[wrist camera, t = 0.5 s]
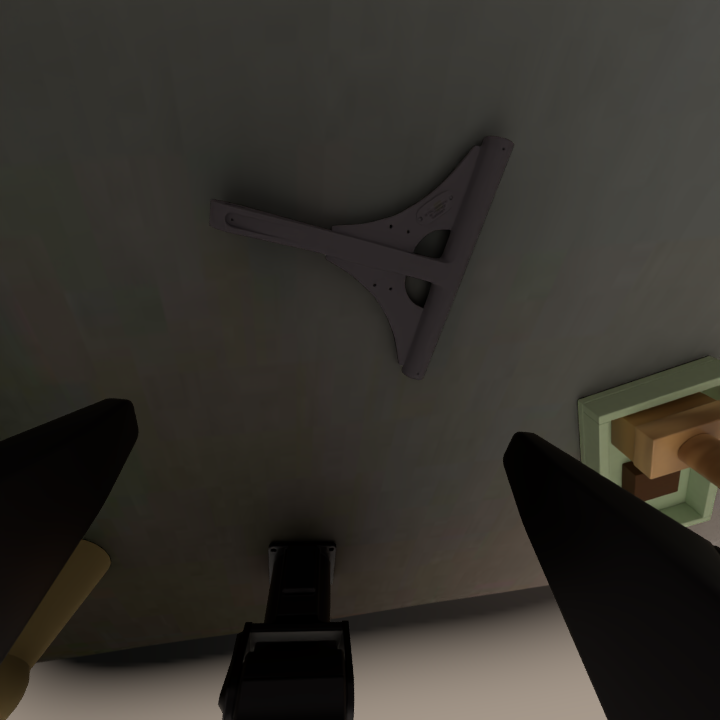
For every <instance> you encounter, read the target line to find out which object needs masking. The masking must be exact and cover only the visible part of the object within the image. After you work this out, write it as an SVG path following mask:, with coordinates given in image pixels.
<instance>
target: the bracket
mask: <svg viewBox="0 0 720 720" xmlns="http://www.w3.org/2000/svg"><path fill="white" fill-rule="evenodd" d="M513 147H514V143H513V142H512V141H510V140H508V139H506V138H501V137H497V136H486V137H484V139H483V142H482V144H481V146H477V145H476V146H473V147H472V148H471V150H470V151H469V152H468V153H467V155H466V156H465V157H464V158H463V160H462V161H461V162H460V163H459V165H458V166H457V167H456V168H455V169H454V170H453V171H452V173H451V174H450V175H449V176H448V177H447V178H446V179H445V180H444V181H443V182H442V183H441V184H440V185H439V186H438V187H437V188H435V189H434V190H433V191H432V192H431V193H429V194H428V195H427V196H426V197H424V198H423V199H421V200H420V201H419V202H417V203H415V204H414V205H412V206H411V207H409V208H407V209H405V210H404V211H402V212H400V213H398V214H396V215H394V216H390V217H387V218H383V219H380V220H376V221H373V222H368V223H363V224H351V225H335V226H332V229H331V230H329V229H325V228H321V227H318V226H314V225H311V224H307V223H303V222H300V221H296V220H292V219H289V218H285V217H282V216H278V215H274V214H271V213H267V212H263V211H260V210H256V209H252V208H249V207H245V206H241V205H238V204H234V203H230V202H225V201H221V200H216V199H211V205H210V221H209V224H210V226H212V227H214V228H216V229H219V230H222V231H225V232H229V233H233V234H238V235H242V236H247V237H252V238H256V239H261V240H265V241H270V242H274V243H279V244H283V245H287V246H292V247H296V248H301V249H305V250H309V251H313V252H317V253H321V254H326V259H327V260H328V261H330V262H331V263H333V264H335V265H336V266H338V267H340V268H341V269H343V270H344V271H346V272H347V273H349V274H350V275H352V276H353V277H354V278H355V279H357V280H358V281H359V282H360V283H361V284H362V285H363V286H364V287H365V288H366V289H367V290H369V291H370V292H371V293H372V294H373V296H374V297H375V298H376V300H377V301H378V303H379V305H380V306H381V308H382V309H383V311H384V313H385V315H386V317H387V319H388V321H389V323H390V326H391V328H392V331H393V335H394V339H395V343H396V349H397V356H398V362H399V364H400V365H403V368H402V372H403V373H404V374H405V375H406V376H408V377H410V378H413V379H417V380H420V379H423V377H424V375H425V372H426V370H427V367H428V365H429V362H430V359H431V357H432V354H433V352H434V349H435V347H436V344H437V342H438V339H439V336H440V334H441V331H442V329H443V326H444V324H445V321H446V318H447V316H448V313H449V311H450V308H451V306H452V303H453V301H454V298H455V295H456V293H457V290H458V288H459V285H460V283H461V280H462V277H463V275H464V272H465V270H466V267H467V265H468V262H469V260H470V257H471V254H472V252H473V249H474V247H475V244H476V242H477V239H478V236H479V234H480V231H481V229H482V226H483V224H484V221H485V219H486V216H487V213H488V211H489V208H490V206H491V203H492V201H493V198H494V195H495V193H496V190H497V188H498V185H499V183H500V180H501V178H502V175H503V172H504V170H505V167H506V165H507V162H508V160H509V157H510V154H511V152H512V149H513ZM390 225H391V226H392V227H391V228H389V226H390ZM442 229H448V230H450V231H451V232H450V235H449V238H448V240H447V243H446V246H445V249H444V251H443V254H442V256H441V257H440V258H432V257H427V256H423V255H420V254H416V253H414V250H415V247H416V246H417V244H418V243H419V242H420V240H421V239H422V238H423V237H425V236H426V235H427V234H429V233H431V232H433V231H436V230H442ZM407 230H408V233H407V232H406V231H407ZM406 275H407V276H411V277H414V278H418V279H421V280H425V281H428V282H431V288H430V291H429V294H428V297H427V300H426V303H425V305H424V307H420V306H418V305H416V304H415V303H413V302H412V301H411V300H410V299H409V297H408V295H407V293H406V289H405V278H406ZM374 283H375V285H373V284H374ZM390 287H391V289H389V288H390Z"/></svg>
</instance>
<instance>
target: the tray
mask: <svg viewBox="0 0 720 720" xmlns="http://www.w3.org/2000/svg"><path fill="white" fill-rule="evenodd" d="M697 392H701V393H703V394H705V395H707V396H709V397H711V398H713V399H715V400H720V360H717V359H716V358H714V357H711V356H708V357H705V358H702V359H699V360H696V361H693V362H690V363H687V364H684V365H681V366H678V367H675V368H672V369H669V370H666V371H663V372H660V373H657V374H654V375H651V376H648V377H645V378H642V379H639V380H636V381H633V382H630V383H627V384H624V385H621V386H618V387H615V388H612V389H609V390H606V391H603V392H600V393H597V394H594V395H591V396H588V397H585V398H582V399H579V400H578V417H579V434H580V451H581V463H583V464H585V465H586V466H588V467H590V468H591V469H593V470H594V471H596V472H598V473H599V474H601V475H602V476H604V477H606V478H607V479H609V480H611V481H612V482H614V483H615V484H617V485H619V486H620V487H622V464H623V463H626V462H630V461H631V460H630V459H629V458H628V457H626V456H625V455H624V454H623V453H622V452H621V451H619V450H618V449H617V448H616V447H615V446H614V445H612V444H611V420H615V419H618V418H621V417H624V416H627V415H630V414H633V413H636V412H639V411H642V410H645V409H648V408H651V407H654V406H657V405H661V404H664V403H667V402H670V401H673V400H676V399H679V398H682V397H685V396H688V395H691V394H694V393H697ZM717 488H718V487H716V486H715V485H714V484H712V483H711V482H710V481H708V480H707V479H706V478H704V477H703V476H701V475H700V474H699V473H697V472H696V471H695V470H693V469H692V468H691V467H690V468H687V469H683V470H681V472H680V479H679V486H678V491H677V492H674V493H671V494H668V495H664V496H661V497H658V498H654V499H651V500H648V501H645V502H646V503H648V504H649V505H651V506H653V507H654V508H656V509H657V510H659V511H661V512H662V513H664V514H666V515H667V516H669V517H670V518H672V519H674V520H675V521H677V522H679V523H680V524H682V525H683V526H685V527H688V526H692V525H695V524H698V523H702V522H705V521H709V520H710V518H711V514H712V510H713V505H714V501H715V497H716V492H717Z"/></svg>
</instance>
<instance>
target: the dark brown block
mask: <svg viewBox="0 0 720 720" xmlns="http://www.w3.org/2000/svg"><path fill="white" fill-rule="evenodd" d="M680 472H681V470H680V471H677V472H673V473H670V474H667V475H664V476H660V477H657V478H654V479H650V478H648V477H647V476H646V475H645V474H644V473H643V472H641V471H640V470H639V469H638V468H637V467H636V466H634V463H633V462H632V461H630V462H626V463H623V464H622V488H624V489H625V490H627V491H628V492H630V493H632V494H633V495H635V496H636V497H638V498H640V499H641V500H643V501H648V500H651V499H654V498H658V497H661V496H664V495H668V494H671V493H674V492H677V491H678V486H679V479H680Z"/></svg>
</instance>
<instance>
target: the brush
mask: <svg viewBox="0 0 720 720" xmlns="http://www.w3.org/2000/svg"><path fill="white" fill-rule="evenodd" d="M611 444H612V445H614V446H615V447H616V448H617V449H618V450H619V451H621V452H622V453H623V454H624V455H625V456H626V457H628V458H629V459H630V460H631V461H632V462H633V463H634V466H636V467H637V468H638V469H639V470H640V471H641V472H643V473H644V474H645V475H646V476H647V477H648V478H650V479H654V478H657V477H660V476H664V475H667V474H670V473H673V472H677V471H680V470H683V469H687V468H690V467H691V468H692V469H693V470H695V471H696V472H697V473H699V474H700V475H701V476H703V477H704V478H706V479H707V480H708V481H710V482H711V483H712V484H714V485H715V486H716V487H718V488H719V489H720V400H715V399H713V398H711V397H709V396H707V395H705V394H703V393H701V392H697V393H694V394H691V395H688V396H685V397H682V398H679V399H676V400H673V401H670V402H667V403H664V404H661V405H657V406H654V407H651V408H648V409H645V410H642V411H639V412H636V413H633V414H630V415H627V416H624V417H621V418H618V419H615V420H611Z"/></svg>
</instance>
